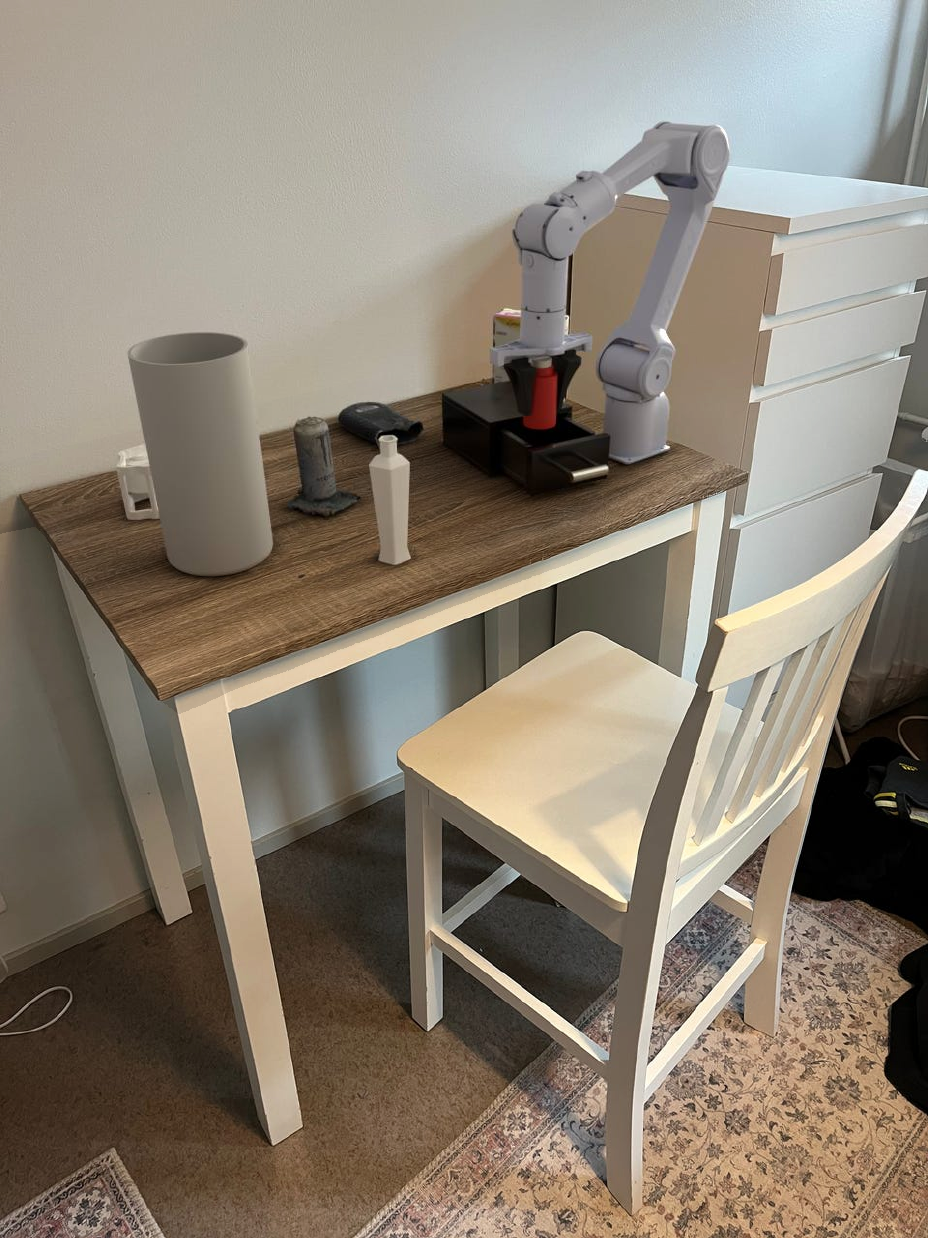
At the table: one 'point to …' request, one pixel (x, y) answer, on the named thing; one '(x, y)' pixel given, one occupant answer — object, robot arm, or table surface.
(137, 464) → the white hollow box frame
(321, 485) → the beverage can
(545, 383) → the sauce bottle
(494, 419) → the cabinet
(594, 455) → the drawer
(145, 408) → the cylinder vase
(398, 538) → the white faceted vase
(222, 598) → the table surface
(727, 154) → the robot arm
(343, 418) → the black crumpled pouch
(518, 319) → the candy bar box
